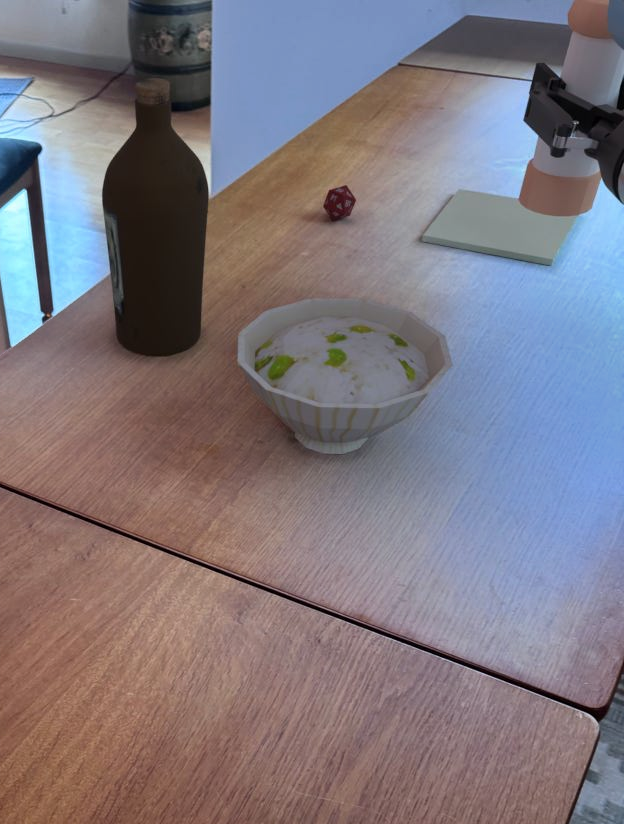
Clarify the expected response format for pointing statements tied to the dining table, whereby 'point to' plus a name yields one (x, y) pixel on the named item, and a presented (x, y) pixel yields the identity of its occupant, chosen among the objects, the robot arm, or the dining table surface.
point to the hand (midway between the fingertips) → (567, 76)
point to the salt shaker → (593, 82)
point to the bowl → (341, 368)
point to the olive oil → (156, 230)
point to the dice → (339, 203)
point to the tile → (499, 228)
